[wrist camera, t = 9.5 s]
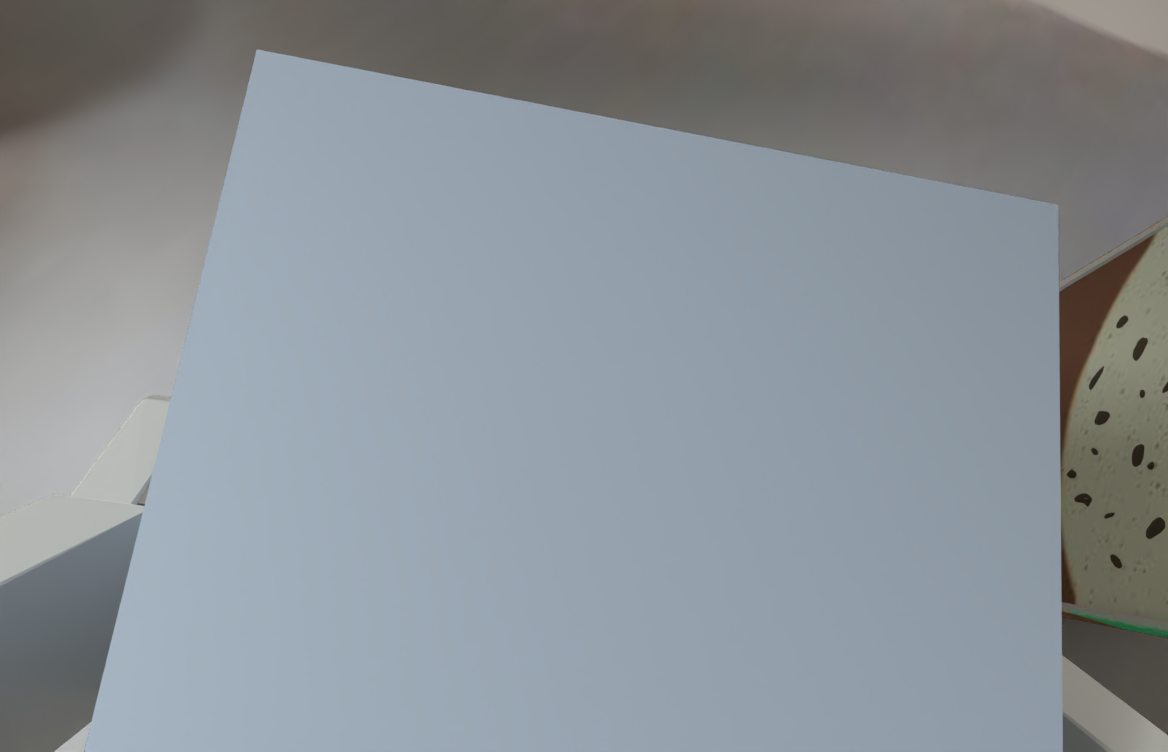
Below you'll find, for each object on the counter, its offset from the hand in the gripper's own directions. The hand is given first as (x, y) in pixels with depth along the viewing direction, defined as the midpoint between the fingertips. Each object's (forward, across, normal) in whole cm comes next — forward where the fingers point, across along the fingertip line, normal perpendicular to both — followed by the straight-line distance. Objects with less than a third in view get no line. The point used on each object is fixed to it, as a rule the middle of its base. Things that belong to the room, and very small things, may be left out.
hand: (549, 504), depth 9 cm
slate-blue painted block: (+3, 0, +4) cm, 5 cm away
